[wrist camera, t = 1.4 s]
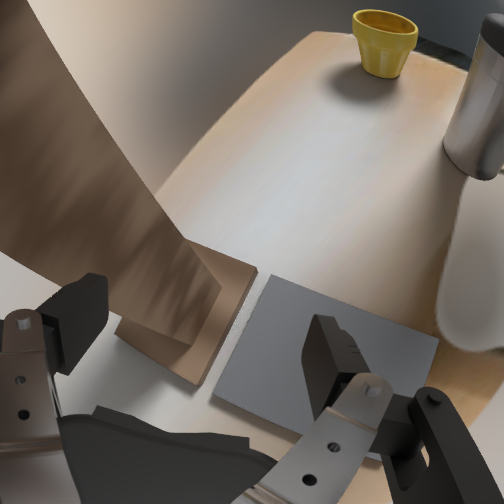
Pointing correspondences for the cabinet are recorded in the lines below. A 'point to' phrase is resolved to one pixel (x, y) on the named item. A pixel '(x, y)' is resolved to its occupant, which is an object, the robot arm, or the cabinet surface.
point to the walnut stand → (101, 212)
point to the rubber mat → (290, 349)
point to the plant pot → (384, 41)
